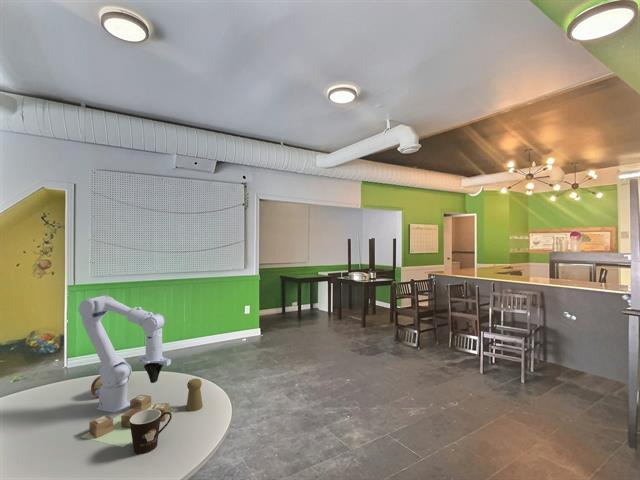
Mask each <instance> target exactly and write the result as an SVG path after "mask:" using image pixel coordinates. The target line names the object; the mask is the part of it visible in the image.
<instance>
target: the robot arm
mask: <svg viewBox="0 0 640 480" xmlns="http://www.w3.org/2000/svg"><path fill="white" fill-rule="evenodd" d="M77 310H78V312H79V314H80V316H81V322H82V326H83V327H84V331H85V332H86V335H88V338H89V341H90V343H91V344H92V347H93V348H94V350H95V352H96V354H97V356H98V358H99V361H100V362H101V367H100V369H99V371H98V373H99V376H100V377H101V383H102V386H101V388H100V390H99V397H98V407H96V410H100V411H105V412H109V413H115V414H116V413H117V412H119V411H121V410H123V409H124V408H126V407H129V406H130V401H131V400H128V383H127V381H128V382H129V380H128V377H129V378H130V376H131V375H132V373H133V372H132V367H131V365H130V364H129V363H127V361H126V359H125V358H124V357H121V356H118V354H117V352H116V350H115V348H114V346H113V344H112V342H111V340H110V338H109V336H108V334H107V332H106V329H105V327H104V325H103V323H102V319H103V317H104V316H105V315H106V314H107V313H108V311H109V312H112V313H115V314H118V315H121V316H123V317H126V319H127V321H128V322H130V323H132V324H135V325H137V326H139V327H142V330H143V331H144V335H145V355H144V354H141V355H139V356H137V362H139V363H140V362H143V364H144V365H143V368H144V369H145V371H146V372H147V376H148V379H149V381H150V383H151V384H154V383H157V382H158V380H159V375H160V372H161V370H162V368H163V367H164V366H165V367H168V366H170V365H172V359H171V358H167V357H165V356H163V327H164V326H165V325H166V318H165V316H164V315H162V314H161V313H155V314H154V313H153V312H152V311H147V310H146V309H145V310H144V309H143V307H141V306H138V307H136V306H135V307H133V308H132V307H129V306H127V305H126V304H123V303H122V302H119V301H117V300H115V299H114V297H113V296H109V295H106V294H103V295H100V296H96V297H92V298H91V297H90V298H85V299H83V300H82V301H81V302H80V303H79V306H78V308H77Z"/></svg>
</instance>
